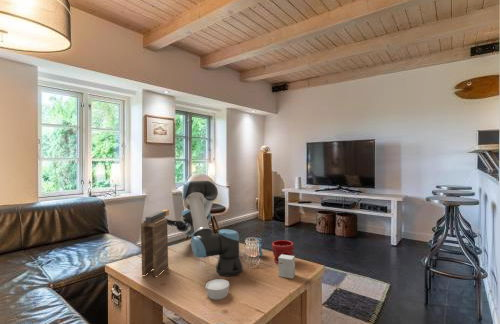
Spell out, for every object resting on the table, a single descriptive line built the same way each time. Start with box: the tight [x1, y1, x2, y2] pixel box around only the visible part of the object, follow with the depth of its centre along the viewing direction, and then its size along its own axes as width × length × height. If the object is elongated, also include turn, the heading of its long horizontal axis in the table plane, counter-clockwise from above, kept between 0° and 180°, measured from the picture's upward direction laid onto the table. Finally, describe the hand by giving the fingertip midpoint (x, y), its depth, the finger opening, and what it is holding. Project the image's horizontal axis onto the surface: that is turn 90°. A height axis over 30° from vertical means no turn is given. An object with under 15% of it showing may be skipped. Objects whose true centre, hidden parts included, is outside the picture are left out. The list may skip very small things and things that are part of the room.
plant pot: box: [271, 239, 294, 264], centre depth 164 cm, size 13×13×12 cm
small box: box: [277, 254, 296, 279], centre depth 145 cm, size 8×6×10 cm
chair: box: [252, 236, 263, 258], centre depth 175 cm, size 8×8×12 cm
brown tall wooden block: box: [140, 216, 169, 277], centre depth 152 cm, size 9×13×31 cm
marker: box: [145, 209, 170, 223], centre depth 156 cm, size 3×21×3 cm, turn 170°
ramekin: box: [205, 278, 230, 301], centre depth 126 cm, size 11×11×5 cm
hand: (171, 217), depth 173 cm, fingers open, 13 cm apart
